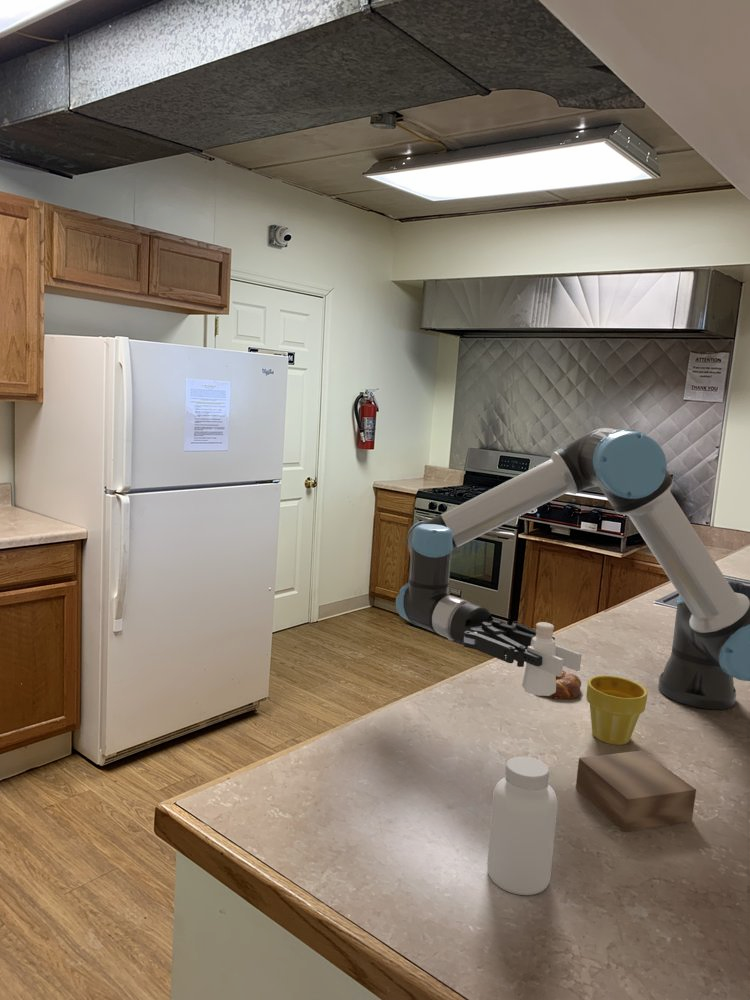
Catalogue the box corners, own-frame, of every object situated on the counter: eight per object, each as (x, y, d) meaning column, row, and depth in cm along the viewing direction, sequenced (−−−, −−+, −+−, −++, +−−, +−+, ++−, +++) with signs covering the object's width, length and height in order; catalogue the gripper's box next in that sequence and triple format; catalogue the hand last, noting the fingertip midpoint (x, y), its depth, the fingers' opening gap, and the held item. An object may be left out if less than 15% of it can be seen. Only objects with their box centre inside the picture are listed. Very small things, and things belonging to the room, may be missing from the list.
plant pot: (645, 754, 128) (652, 701, 127) (584, 745, 130) (590, 693, 129) (636, 728, 138) (642, 679, 137) (580, 720, 140) (585, 671, 139)
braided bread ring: (513, 684, 156) (515, 668, 156) (547, 675, 163) (548, 659, 162) (558, 705, 147) (560, 688, 147) (592, 694, 154) (593, 677, 153)
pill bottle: (479, 856, 97) (489, 750, 95) (538, 856, 98) (550, 751, 95) (494, 897, 89) (505, 782, 87) (558, 897, 90) (571, 783, 88)
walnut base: (638, 779, 120) (642, 750, 119) (691, 820, 108) (696, 789, 108) (575, 787, 116) (579, 757, 115) (624, 831, 104) (628, 799, 104)
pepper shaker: (557, 686, 120) (564, 622, 119) (553, 699, 115) (560, 631, 114) (524, 680, 122) (530, 616, 120) (519, 692, 117) (525, 626, 115)
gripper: (493, 634, 137) (600, 677, 119) (426, 650, 127) (532, 699, 109) (497, 596, 136) (605, 633, 118) (430, 608, 126) (537, 651, 108)
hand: (570, 665), depth 114 cm, fingers closed on pepper shaker, 4 cm apart
